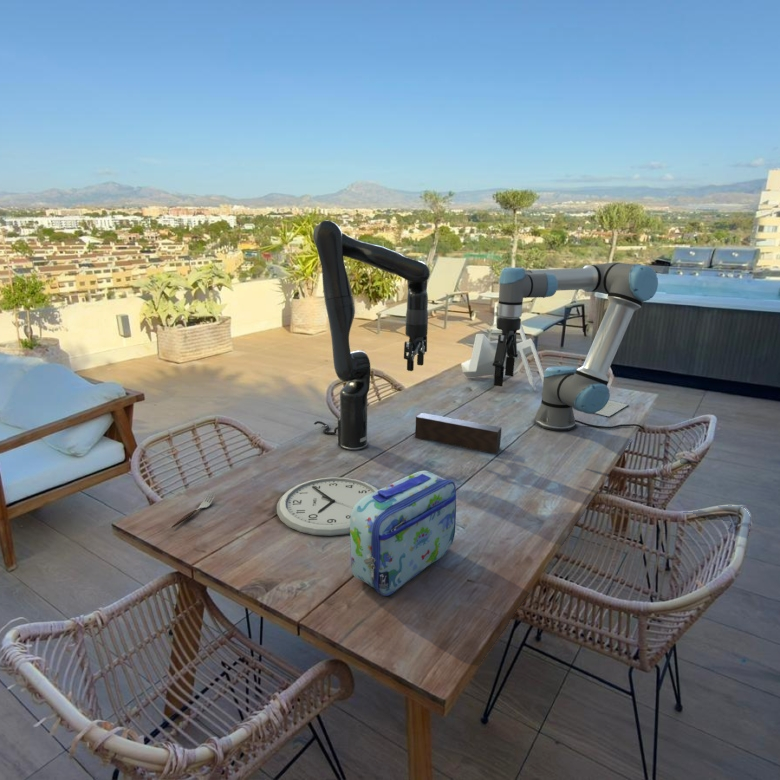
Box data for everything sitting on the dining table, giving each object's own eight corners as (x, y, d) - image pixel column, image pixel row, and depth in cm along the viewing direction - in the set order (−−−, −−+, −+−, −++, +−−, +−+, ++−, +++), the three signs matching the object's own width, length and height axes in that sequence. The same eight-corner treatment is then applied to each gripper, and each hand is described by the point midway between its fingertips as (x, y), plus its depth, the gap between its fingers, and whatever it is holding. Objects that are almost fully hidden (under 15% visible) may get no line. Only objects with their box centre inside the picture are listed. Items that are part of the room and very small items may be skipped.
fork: (167, 528, 130) (166, 521, 130) (209, 498, 145) (208, 492, 144) (175, 530, 130) (174, 523, 129) (216, 500, 144) (216, 494, 143)
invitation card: (608, 416, 214) (573, 407, 224) (608, 416, 214) (573, 408, 224) (628, 404, 229) (594, 396, 238) (628, 405, 229) (594, 397, 238)
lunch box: (378, 608, 104) (379, 516, 98) (343, 583, 112) (342, 495, 105) (459, 554, 122) (465, 473, 116) (425, 535, 129) (428, 458, 123)
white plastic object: (482, 419, 265) (461, 396, 241) (463, 346, 287) (443, 319, 263) (553, 395, 253) (539, 368, 228) (528, 321, 275) (513, 290, 250)
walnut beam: (499, 448, 181) (501, 427, 179) (495, 454, 177) (497, 432, 175) (420, 432, 194) (421, 412, 192) (415, 437, 190) (415, 416, 188)
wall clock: (392, 527, 129) (268, 531, 127) (391, 533, 130) (269, 537, 127) (383, 473, 158) (282, 475, 155) (383, 478, 158) (282, 480, 156)
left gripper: (415, 317, 185) (413, 362, 190) (397, 323, 173) (396, 371, 178) (434, 319, 182) (432, 364, 187) (418, 326, 170) (416, 374, 175)
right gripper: (507, 311, 180) (502, 370, 186) (486, 321, 158) (481, 388, 165) (529, 312, 177) (523, 373, 183) (510, 324, 155) (504, 392, 162)
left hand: (415, 367), depth 182 cm, fingers open, 8 cm apart
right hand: (503, 380), depth 174 cm, fingers open, 13 cm apart
